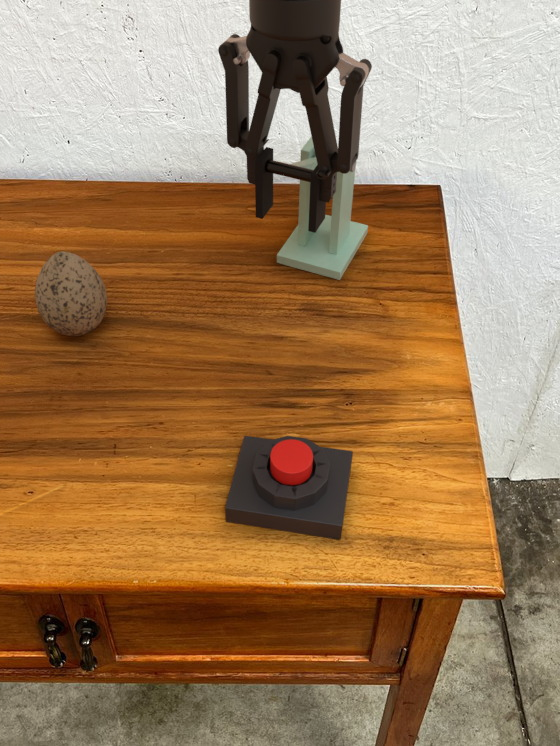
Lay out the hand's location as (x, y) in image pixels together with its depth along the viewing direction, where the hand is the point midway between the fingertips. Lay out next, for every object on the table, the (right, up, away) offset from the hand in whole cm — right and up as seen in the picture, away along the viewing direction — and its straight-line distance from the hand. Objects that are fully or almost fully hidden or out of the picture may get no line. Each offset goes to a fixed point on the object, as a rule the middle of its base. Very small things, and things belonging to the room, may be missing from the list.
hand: (290, 217), depth 79 cm
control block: (0, -26, -10) cm, 28 cm away
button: (0, -24, -12) cm, 27 cm away
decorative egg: (-23, -11, +5) cm, 26 cm away
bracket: (+4, -1, +15) cm, 16 cm away
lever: (+2, +5, +2) cm, 6 cm away
